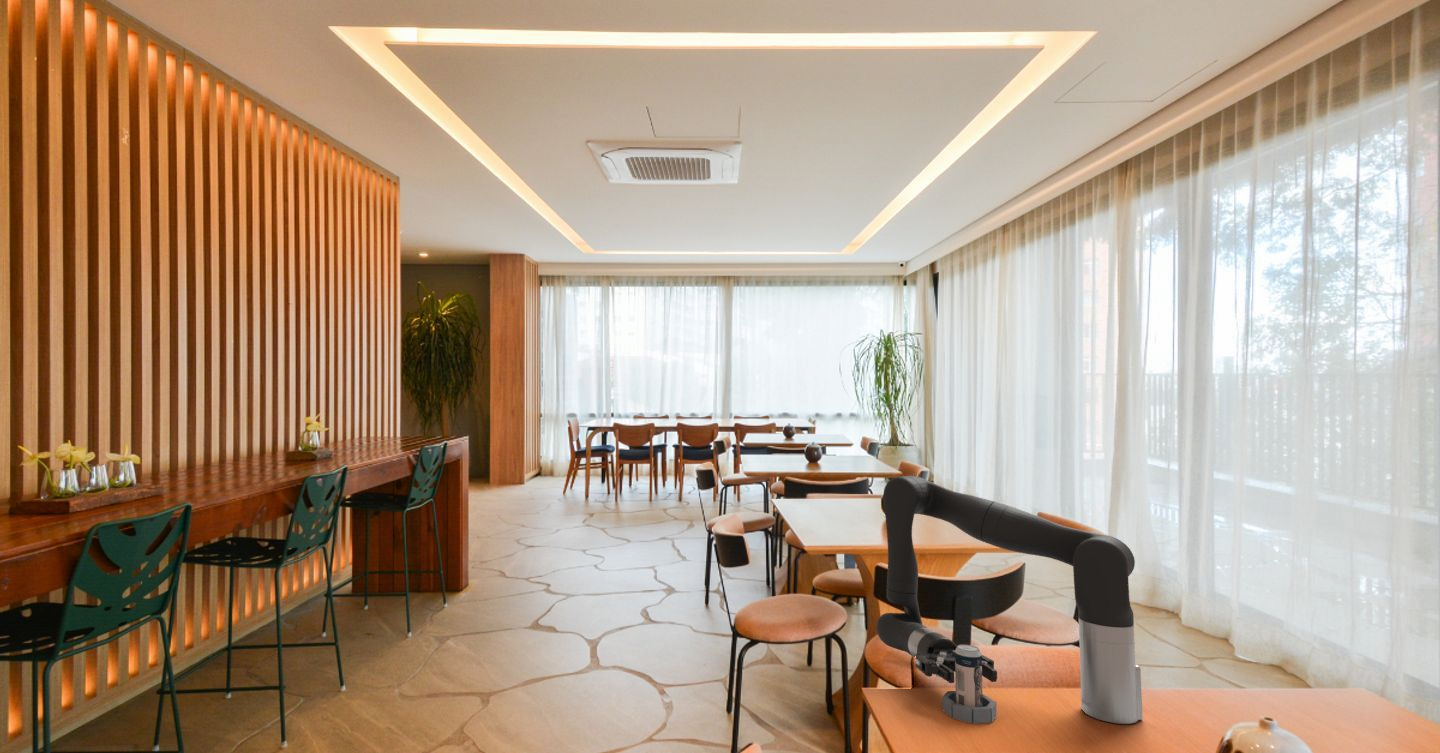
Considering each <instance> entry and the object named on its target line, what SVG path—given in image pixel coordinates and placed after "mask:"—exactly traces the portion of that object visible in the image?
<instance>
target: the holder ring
mask: <svg viewBox="0 0 1440 753" xmlns="http://www.w3.org/2000/svg"><path fill="white" fill-rule="evenodd" d="M982 699H983V707H969V706H965V705H961V704H957V703H956V690H948V691H946V692H945V693H944V694H943V695H942V697H941V700H942V701H941V702H942V703H941V704H942V705H941V707H942V709H943V710H944V711H945V712H946V713H947V714H948V715H949V718H951V719H953V720H958V721H961V722H964V723H969V724H974V725H977V724H978V725H979V724H992V723H993V722H994V721H995V720H996V718H997V717H996V716H998V715H997V714H998V713H997V712H998V711H997V702H996V701H995V700H993V699H992V698H990V697H989V696H988V695H985V694H983V693H982ZM942 709H941V710H942ZM943 710H942V711H943ZM944 711H943V712H944ZM945 712H944V713H945ZM946 713H945V714H946ZM947 714H946V715H947ZM948 715H947V716H948ZM995 717H996V718H995ZM994 719H995V720H994Z"/></svg>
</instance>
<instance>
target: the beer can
mask: <svg viewBox="0 0 1440 753" xmlns="http://www.w3.org/2000/svg"><path fill="white" fill-rule="evenodd" d="M956 646H957V648H956V650H955V672H954V681H955V691H956V703H957V704H961V705H965V706H969V707H983V699H982V694H983V676H982V655H983V654H982V652H981V651H980V648H979V647H978V646H975V645H971V644H959V645H956Z"/></svg>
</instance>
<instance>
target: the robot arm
mask: <svg viewBox="0 0 1440 753" xmlns="http://www.w3.org/2000/svg"><path fill="white" fill-rule="evenodd" d="M883 507H884V515H885V527H886V528H885V529H886V538H887V556H888V557H887V573H886V574H887V575H886V592H885V593H886V599H887V601H888V602H890V603H892V604H895V605H897V606H900V607H903V608H904V612H885V613H883V614H881V615H880V616H879V617H878V619H877V621H876V626H875V627H876V633H877V636H878V637H879V639H880V641H881V642H882V643H883V644H884V645H886V646H888V647H890V648H893V649H896V650H898V651H902V652H906V653H907V654H909V655H910V657H913V658H914V657H915V656H916V658H914V659H915V668H916V669H918V671H920V672H921V673H923V674H924V675H925V677H932V676H933V675H935V677H936V678H940V679H941V678H942V679H943V680H944V681H947V683H949V684H955V650H956V648H957V646H958V645H957V644H956V643H955V642H954V641H952V640H951V639H950V638H949V637H946V636H944V635H943V634H941V633H940V632H938V631H937V630H933V629H931V628H930V627H929V628H928V627H927V626H925V625H923V621H922V617H921V613H920V608H919V601H918V588H919V587H918V583H919V567H918V559H917V556H916V552H915V549H914V543H913V525H914V519H915V518H914V517H915V515H921V516H922V515H924V516H928V517H932V518H935V519H938V520H942V521H944V522H947V523H949V524H951V525H953V526H954V527H957V528H958V529H959V530H960V531H962V532H963V533H965V534H967V535H968V536H970V537H972V538H973V539H976V540H977V541H980V542H983V543H985V544H988V545H991V546H994V547H997V548H999V549H1003V550H1006V551H1010V552H1015V553H1019V554H1026V555H1032V556H1038V557H1043V558H1044V557H1045V558H1048V559H1052V560H1056V561H1059V562H1062V563H1064V564H1066V565H1069V566H1072V567H1073V568H1072V569H1073V586H1074V587H1073V588H1074V600H1075V604H1076V607H1077V611H1078V614H1077V615H1078V636H1079V637H1078V638H1079V639H1078V641H1079V666H1080V672H1079V673H1080V674H1079V675H1080V698H1081V702H1080V703H1081V710H1083V711H1084V712H1085V714H1086V715H1087V716H1089V717H1091V718H1094V719H1096V720H1100V721H1103V722H1108V723H1112V724H1120V725H1130V724H1134V723H1137V722H1138V721H1142V720H1143V718H1144V716H1143V696H1142V694H1143V693H1142V674H1141V672H1142V671H1141V667H1140V666H1139V665H1138V664H1136V647H1135V646H1136V642H1135V624H1134V623H1135V622H1134V611H1133V609H1132V606H1131V602H1130V588H1129V587H1130V585H1129V576H1130V575H1131V574H1132V573H1133V571H1134V569H1135V565H1136V564H1135V563H1136V560H1135V556H1134V554H1133V552H1132V550H1131V549H1130V548H1129V547H1128V545H1127V544H1126V543H1124V542H1123V541H1122V540H1120V539H1119V538H1117V537H1114V536H1111V535H1106V534H1101V533H1096V532H1092V531H1087V530H1082V529H1079V528H1078V529H1077V528H1074V527H1070V526H1065V525H1062V524H1059V523H1056V522H1053V521H1050V520H1048V519H1046V518H1044V517H1041V516H1038V515H1035V514H1033V513H1030V512H1028V511H1025V510H1022V509H1019V508H1016V507H1013V506H1012V505H1011V506H1010V505H1006V504H1004V503H1000V502H998V501H994V500H991V499H986V498H983V497H978V496H975V495H971V494H966V493H961V492H957V491H954V490H951V489H949V488H946V487H943V486H941V485H938V484H936V483H935V482H932V481H930V480H927V479H925V478H922V477H920V476H918V475H917V476H916V475H903V476H896V477H893V478H891V479H890V480H888V481H887V483H886V484H885V486H884V489H883ZM982 678H985V679H986V680H988V681H990V682H992V683H996V682H997V680H998V671H997V669H995V660H993V659H991V658H989V657H988V656H985V655H983V654H982ZM1083 711H1082V712H1083ZM1084 712H1083V713H1084Z"/></svg>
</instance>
